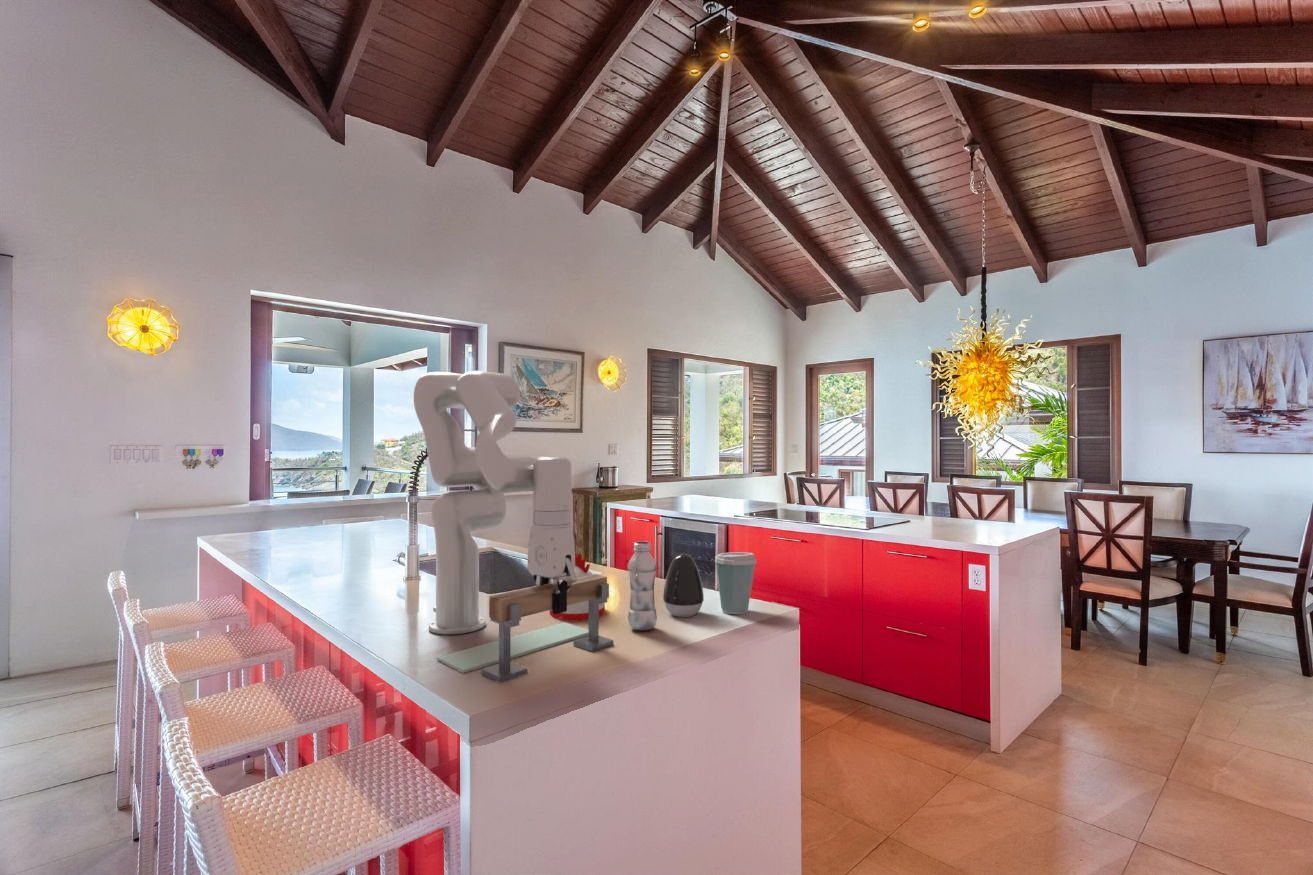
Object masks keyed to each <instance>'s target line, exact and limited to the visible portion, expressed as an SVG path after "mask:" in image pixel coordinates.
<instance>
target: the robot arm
mask: <svg viewBox="0 0 1313 875" xmlns="http://www.w3.org/2000/svg"><path fill="white" fill-rule="evenodd" d="M414 386H415V387H414V390H413V404H414V405H413V406H414V409H415V413H416V416H417V419H418V422H419V423H420V426H421V428H422V431H423V434H424V440H425V445H426V446H425V447H426V451H427V457H428V461H429V467H430V472H431V476H432V479H433V481H434V483H435V484H436V485H437V486H439V487H443V488H459V487H460V488H461V487H472V488H473V489H474V490H457V491H448V492H445V493H443V494H441V495H438V496H437V497H436V498H435V500H434V501H433V503H432V505H431V519H432V520H431V521H432V525H433V530H434V537H435V606H434V607H433V608H432V611H433V613H435V619H433V620H432V621H430V622H429V624H428V630H429V632H431V633H434V634H438V635H462V634H468V633H472V632H476V631H479V630H480V629H483V628H484V627H485V626H486V618H485V617H483V616H481V615H479V614H480V613H479V612H480V611H479V610H480V609H479V603H480V602H479V601H480V600H479V598H480V597H479V596H480V589H479V588H480V581H479V580H480V573H479V572H480V570H479V569H480V562H479V561H480V559H479V558H480V552H479V547H478V544H477V542H476V541H475V539H474V538H473V536H472V535H471V533H470V532H473V531H478V530H486V529H493V528H496V527H498V526H500V525H502V523H503V522H504V520H505V518H506V514H507V504H506V498H505V494H511V493H521V492H533V496H532V497H533V498H532V500H533V501H532V505H533V506H532V508H533V510H532V524H531V527H530V530H529V531H530V532H529V539H528V549H527V571H528V572H529V574H531V576H532V578H533V580H534V581H535V587H536V586H540V585H545V584H550V583H551V580H553V582H552V583H554V591H555V593H553V594H552V613H553V614H559V613H563V612H566V611H567V592H568V591H569V588H570V586H571V585H572V584H573V583H574V582H576V581H577V577H576V574H575V572H574V571H575V553H576V552H575V538H574V531H573V526H572V463H571V460H570V459H569V458H567V457H566V456H546V455H540V454H539V455H538V454H536V455H535V454H533V455H531V454H530V455H528V454H521V455H520V454H519V455H518V454H516V455H514V454H513V455H505V454H504V452H503V451H502V449H501V448H500V446H499V444H498V441H501V440H502V439H503V438H505V437H506V436H507V435H509V434H510V433H511V432H512V431H513V430H514V429H515V426H516V424H517V417H516V413H515V412H514V411H513V410H512V409H513V408H515V406H516V405H517V404H518V402H519V400H520V396H521V395H520V394H521V393H520V386H519V385H518V383H517V381H516V380H515V379H514V378H513V377H512V376H511V375H509V374H506V373H502V372H491V371H484V370H483V371H482V370H473V371H467V372H465V373H458V372H457V373H456V372H446V371H433V372H428V373H424V374H423V375H421V376H420V377H419V378H418V379H417V380H416V383H415V385H414ZM448 409H459V410H466V412H467V414H468V415H469V416H470V419H471V420H472V422H473V424H474V425H475V427H476V429H477V430H478V432H479V433H478V435H477V437H476V440H475V446H474V447H473V446H471V447H470V446H469V447H468V446H467V445H466V444H465V441H464V436H463V432H462V428H461V426H460V425H459V423H458V421H457V420H456V419H455V417H454V416H453V415H452V414H451V413H450V412H448ZM559 580H562V582H561V584H559Z"/></svg>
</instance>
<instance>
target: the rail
mask: <svg viewBox="0 0 1313 875" xmlns="http://www.w3.org/2000/svg"><path fill="white" fill-rule="evenodd" d="M592 574H593V575H588V576H583V577H578V578H577V581H576V582H574V583H573V584H572V585H571V586H570V588H569V591H568V592H567V606H568V605H572V604H576V603H580V602H584V601H588V600H592V599H596V598H599V584H603V583H608V576H604V575H600V574H596V573H595V574H594V573H592ZM561 582H562V581H559V584H561ZM553 593H555V591H554V583H553V582H550V584H545V585H540V586H536V585H535V586H532V587H527V588H522V589H517V590H513V591H507V592H503V593H500V594H498V593H497V594H493V595H489V599H488V615H489V619H490V620H491V619H494V620H497V621H500V622H504V621H508V620H509V605H511V604H516V603H519V604H521V618H524V617H527V616H531V615H535V614H540V613H544V612H547V611H548V612H549V611H550V610H552V594H553Z"/></svg>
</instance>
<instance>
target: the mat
mask: <svg viewBox="0 0 1313 875" xmlns="http://www.w3.org/2000/svg"><path fill="white" fill-rule="evenodd" d="M587 636H589V629H587V628H584V627H581V626H577V625H575V624H571V623H568V622H560V623H556V624H552V625H549V626H546V627H542V628H538V629H534V630H531V631H528V632H524V633H520V634H517V635H513V636H510V660H512V659H515V658H518V657H521V656H526V655H528V654H532V653H534V652H538V651H541V650H544V649H546V648H550V647H555V646H557V645H560V644H564V643H567V642H570V641H574V640H578V639H581V638H584V637H587ZM437 660H438V662H439V661H441V662H442V664H443V663H444V664H443V665H445V664H446V666H447V665H449V666H450V667H449V666H448V667H449V668H451V667H453V668H454V670H455V669H457V670H456V671H458V670H459V671H458V672H460V673H462V672H463V673H462V674H466V673H469V671H470V672H472V671H471V670H473V671H475V669H476V670H479V669H484V668H487V667H490V666H493V665H497V664H499V639H498V640H496V641H491V642H488V643H484V644H480V645H476V646H473V647H470V648H466V649H462V650H458V651H456V652H451V653H448V654H445V655H441V656H437V657H436V661H437ZM441 662H440V663H441ZM453 668H452V669H453ZM465 672H466V673H465Z"/></svg>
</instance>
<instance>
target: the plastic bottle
mask: <svg viewBox="0 0 1313 875" xmlns="http://www.w3.org/2000/svg"><path fill="white" fill-rule="evenodd" d="M633 543H634V545H633V552H634V554H633V555H632V556H631V558H629V561H628V563H627V571H628V576H629V585H630V598H629V599H630V601H629V609H628V613H627V614H628V616H627V620H628V625H629V627H630V629H632V630H636V631H650V630H652V629H654V628H655V626H656V625H657V620H658V616H657V610H656V605H655V601H656V600H655V579H656V573H657V564H656V561H655V559H654V557H653V556H652V555H651V553H650V552H651V551H652V550H651V542H650V541H645V540H644V541H635V542H633Z"/></svg>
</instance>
